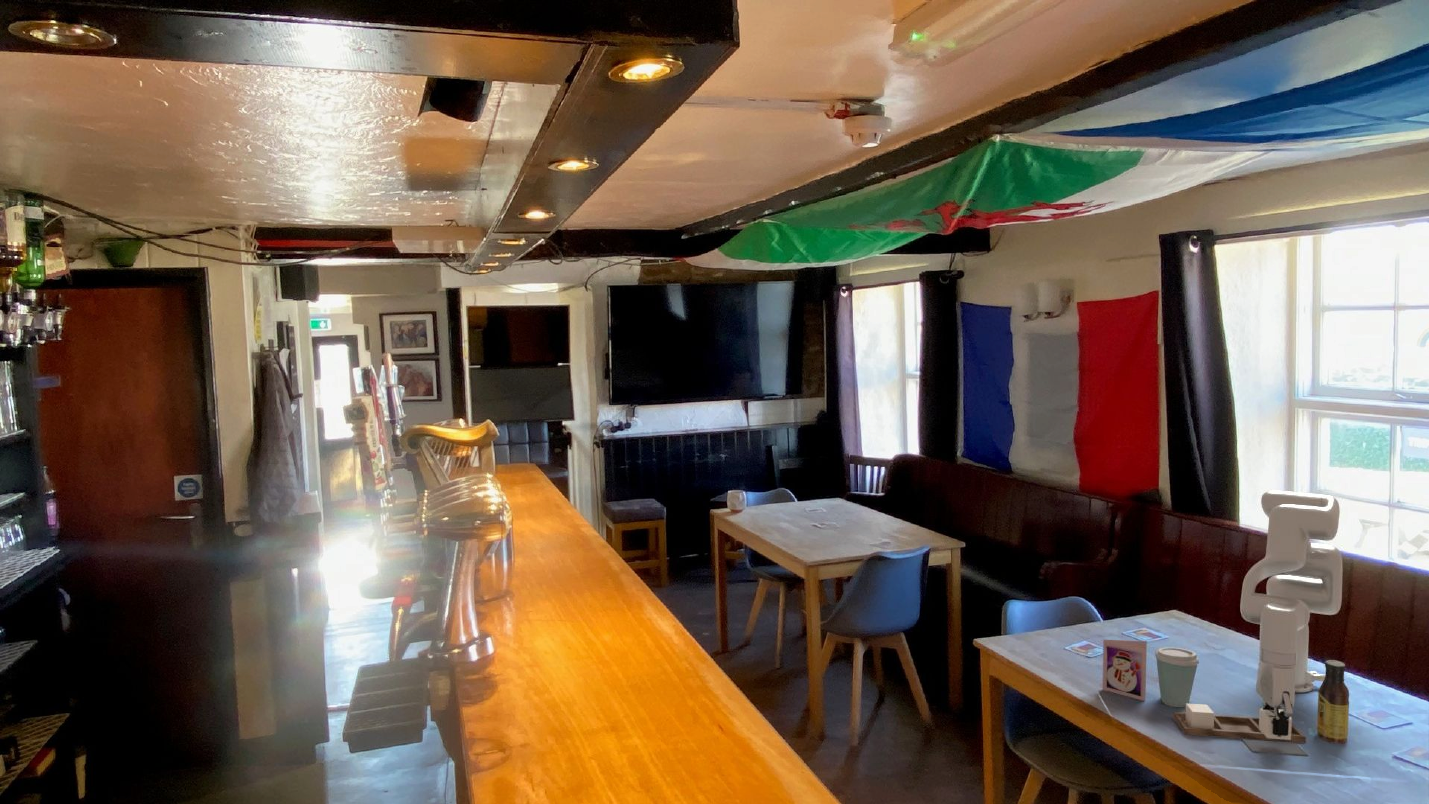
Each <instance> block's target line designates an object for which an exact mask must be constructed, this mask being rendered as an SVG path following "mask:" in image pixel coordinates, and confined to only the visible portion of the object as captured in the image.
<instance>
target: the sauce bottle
mask: <svg viewBox="0 0 1429 804" xmlns="http://www.w3.org/2000/svg"><path fill="white" fill-rule="evenodd" d="M1324 668H1325V674H1324V675H1325V679H1324V681H1322V683H1321V685H1320V687H1319V688H1318V694H1317V695H1318V696H1317V715H1316V716H1317V718H1316V730H1317V731H1316V732H1317V734H1316V735H1317V736H1318V737H1319V738H1320V739H1321V740H1324V741H1327V742H1329V743H1334V744H1345V743H1346V742H1347V741H1348V733H1349V732H1348V731H1349V715H1350V714H1349V713H1350V701H1349V699H1350V698H1349V697H1350V690H1349V688H1348V687H1347V685H1346V684H1345V682H1344V681H1345V672H1346V664H1345V662H1342V661H1339V660H1335V659H1328V660H1326V661H1325V662H1324Z"/></svg>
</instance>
